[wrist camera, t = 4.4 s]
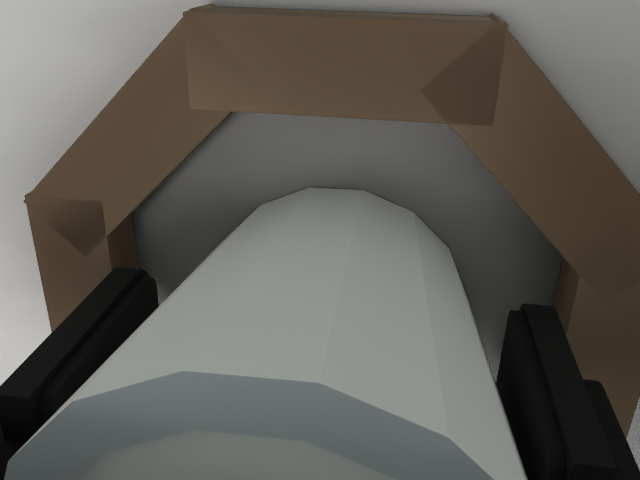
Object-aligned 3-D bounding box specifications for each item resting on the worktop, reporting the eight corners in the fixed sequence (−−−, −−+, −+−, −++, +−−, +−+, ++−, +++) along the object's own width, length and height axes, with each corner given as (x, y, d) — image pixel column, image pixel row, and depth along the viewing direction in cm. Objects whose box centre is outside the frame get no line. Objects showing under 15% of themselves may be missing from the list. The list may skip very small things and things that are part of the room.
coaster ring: (720, 21, 10) (756, 29, 9) (571, 540, 15) (583, 583, 14) (23, -4, 11) (-17, 1, 10) (107, 477, 17) (85, 513, 16)
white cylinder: (568, 283, 12) (724, 622, 6) (371, 472, 15) (340, 832, 9) (286, 87, 11) (129, 245, 5) (135, 327, 14) (-82, 614, 8)
